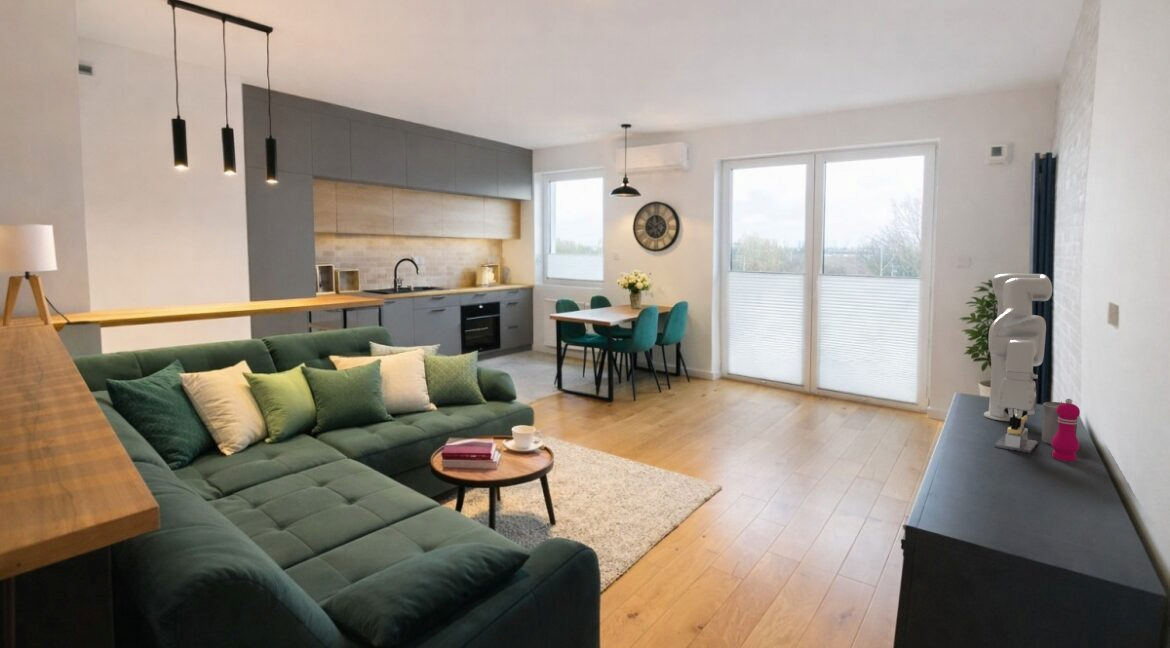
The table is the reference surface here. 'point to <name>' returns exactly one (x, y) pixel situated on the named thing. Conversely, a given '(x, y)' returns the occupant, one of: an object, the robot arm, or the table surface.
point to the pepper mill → (1066, 432)
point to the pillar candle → (1050, 421)
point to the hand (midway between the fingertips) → (1014, 428)
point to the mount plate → (1016, 442)
